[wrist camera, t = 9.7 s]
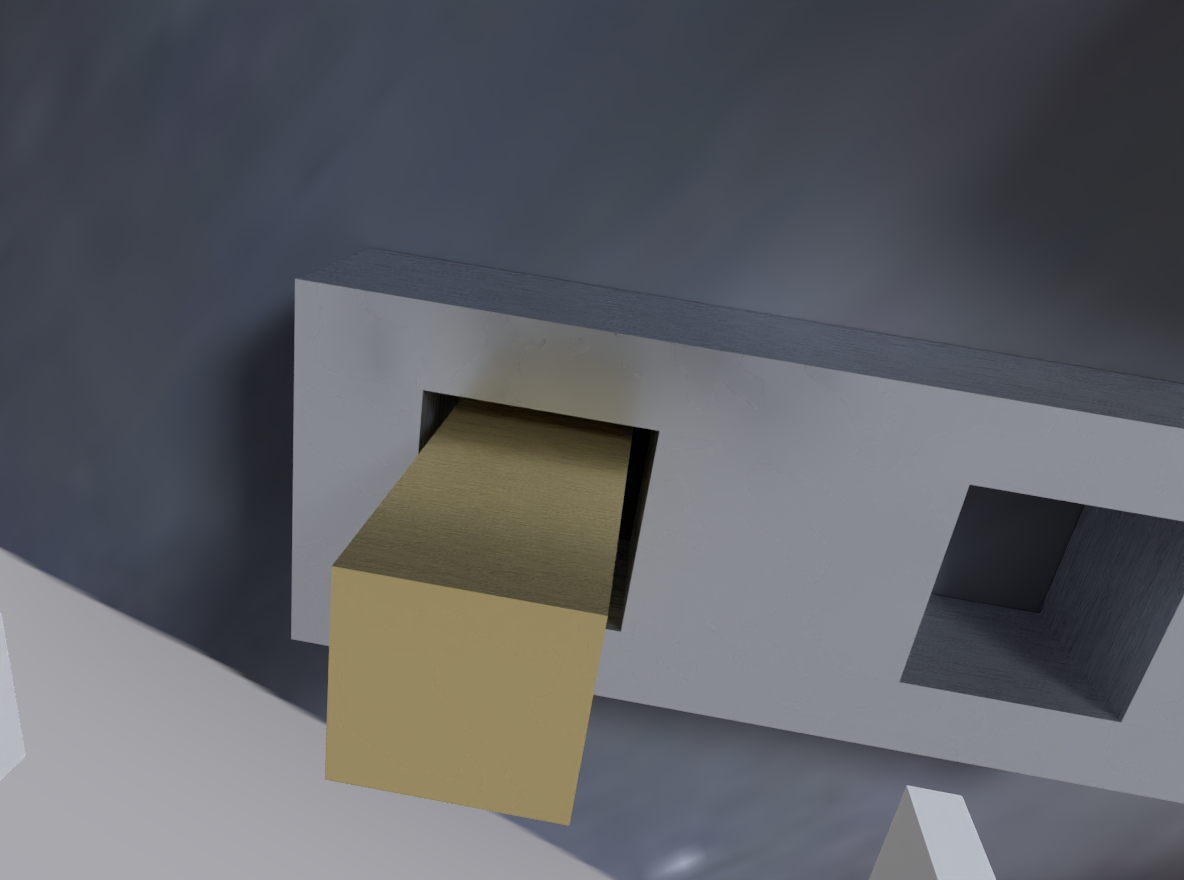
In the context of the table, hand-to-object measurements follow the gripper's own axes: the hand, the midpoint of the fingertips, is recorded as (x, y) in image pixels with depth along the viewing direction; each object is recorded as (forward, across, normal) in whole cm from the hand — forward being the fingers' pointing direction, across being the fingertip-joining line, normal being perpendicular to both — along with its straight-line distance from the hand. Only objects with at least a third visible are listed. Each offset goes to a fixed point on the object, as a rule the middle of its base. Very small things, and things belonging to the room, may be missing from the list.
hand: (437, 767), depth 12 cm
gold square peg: (+14, 0, -1) cm, 14 cm away
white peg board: (+14, +7, -1) cm, 15 cm away
